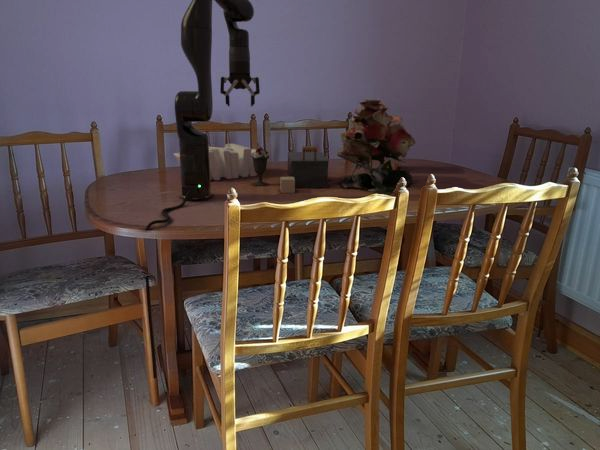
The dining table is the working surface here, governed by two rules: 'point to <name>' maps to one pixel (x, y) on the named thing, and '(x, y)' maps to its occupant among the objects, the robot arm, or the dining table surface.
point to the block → (287, 184)
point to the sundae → (260, 164)
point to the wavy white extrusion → (229, 161)
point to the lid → (307, 156)
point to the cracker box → (394, 162)
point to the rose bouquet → (375, 148)
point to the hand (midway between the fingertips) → (240, 106)
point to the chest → (309, 174)
